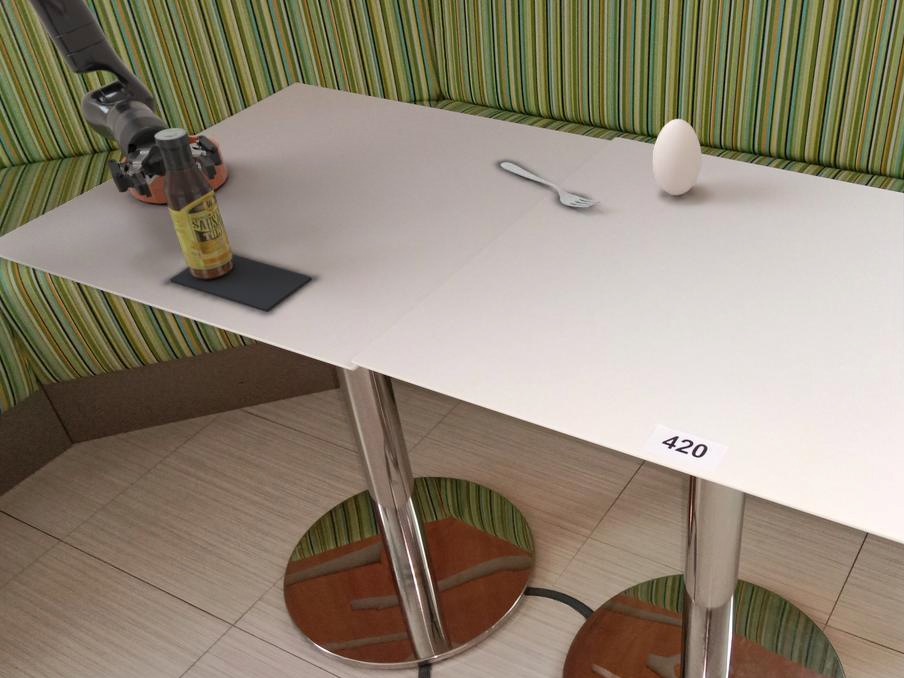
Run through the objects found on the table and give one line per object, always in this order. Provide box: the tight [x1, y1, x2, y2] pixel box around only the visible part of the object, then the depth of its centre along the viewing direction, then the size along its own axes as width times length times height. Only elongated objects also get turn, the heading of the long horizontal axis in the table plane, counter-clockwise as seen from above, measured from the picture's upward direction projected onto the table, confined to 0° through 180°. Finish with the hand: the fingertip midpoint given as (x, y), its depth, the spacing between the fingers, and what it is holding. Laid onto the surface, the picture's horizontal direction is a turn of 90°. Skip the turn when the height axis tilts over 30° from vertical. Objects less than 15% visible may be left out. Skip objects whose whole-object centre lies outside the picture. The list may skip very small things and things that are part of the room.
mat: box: [169, 253, 313, 313], centre depth 135 cm, size 18×9×1 cm, turn 62°
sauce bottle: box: [155, 127, 234, 279], centre depth 131 cm, size 6×6×20 cm
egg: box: [652, 118, 702, 196], centre depth 147 cm, size 7×7×12 cm
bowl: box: [120, 134, 229, 204], centre depth 157 cm, size 15×15×5 cm
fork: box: [500, 161, 602, 208], centre depth 153 cm, size 3×24×2 cm, turn 40°
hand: (179, 181), depth 130 cm, fingers open, 8 cm apart
